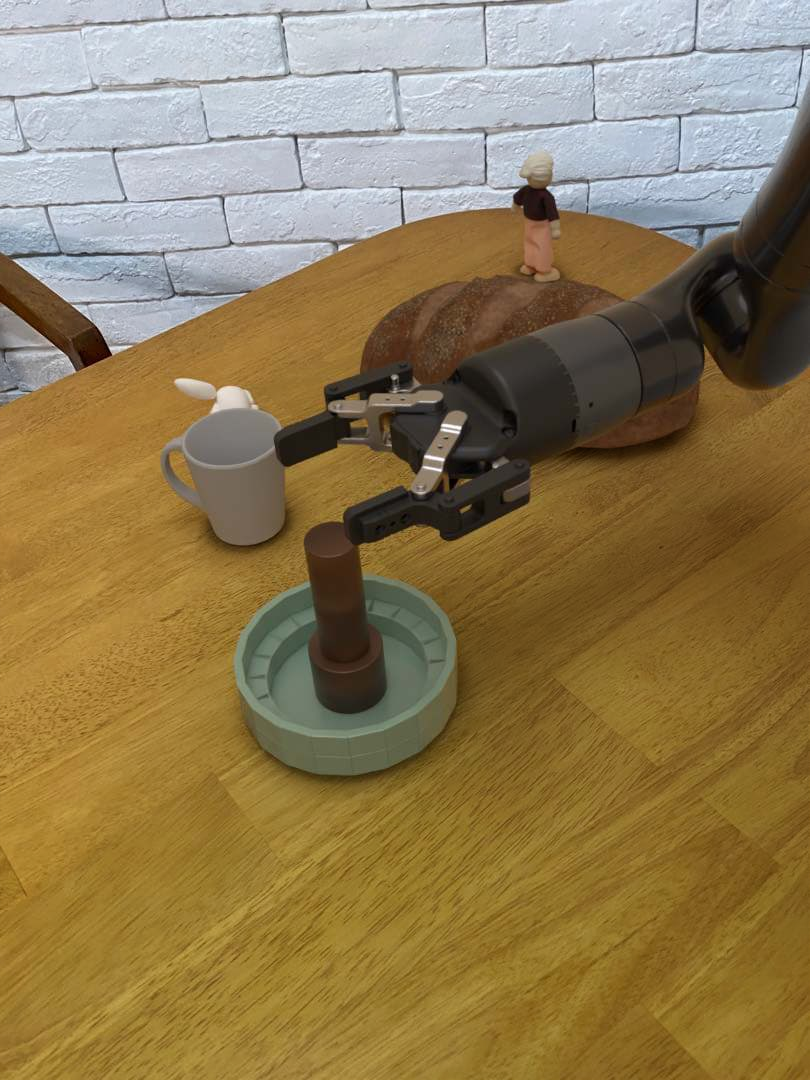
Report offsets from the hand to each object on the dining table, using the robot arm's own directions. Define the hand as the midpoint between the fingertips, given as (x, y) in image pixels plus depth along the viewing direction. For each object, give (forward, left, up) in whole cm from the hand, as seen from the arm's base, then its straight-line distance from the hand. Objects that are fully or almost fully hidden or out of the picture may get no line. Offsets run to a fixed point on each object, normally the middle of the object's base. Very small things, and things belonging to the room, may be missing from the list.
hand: (310, 488), depth 63 cm
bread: (+21, -30, -18) cm, 41 cm away
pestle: (0, -1, -17) cm, 17 cm away
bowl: (0, -1, -18) cm, 18 cm away
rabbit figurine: (+33, -6, -18) cm, 38 cm away
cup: (+21, -2, -18) cm, 28 cm away
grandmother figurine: (+40, -45, -18) cm, 63 cm away
